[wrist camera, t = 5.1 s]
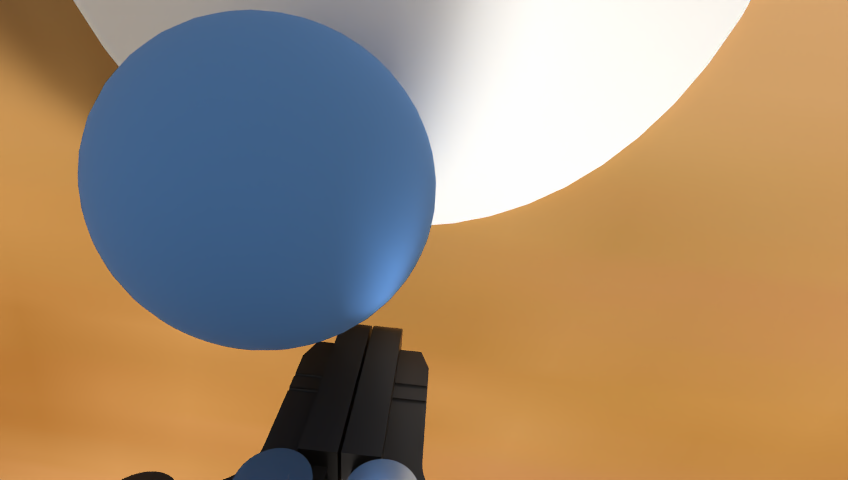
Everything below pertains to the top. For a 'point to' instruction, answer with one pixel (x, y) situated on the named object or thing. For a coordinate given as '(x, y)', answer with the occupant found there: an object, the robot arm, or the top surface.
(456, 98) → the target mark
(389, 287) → the ball
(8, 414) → the top surface
